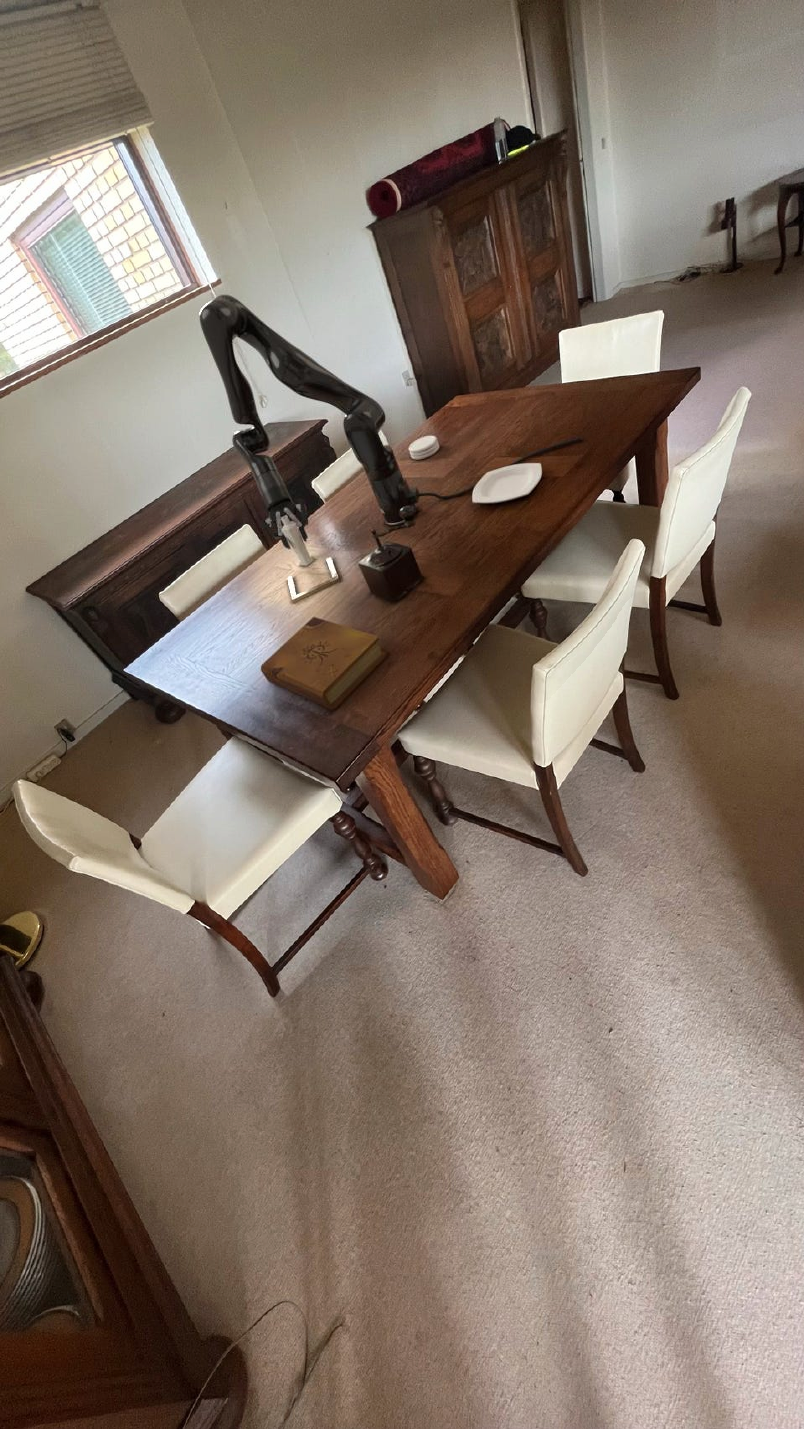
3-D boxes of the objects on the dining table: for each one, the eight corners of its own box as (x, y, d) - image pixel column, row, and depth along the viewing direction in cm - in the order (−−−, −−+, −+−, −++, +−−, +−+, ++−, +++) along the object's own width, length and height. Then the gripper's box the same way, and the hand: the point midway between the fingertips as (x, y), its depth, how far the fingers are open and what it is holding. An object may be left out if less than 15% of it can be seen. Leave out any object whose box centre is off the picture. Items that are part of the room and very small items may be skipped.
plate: (466, 512, 172) (464, 506, 171) (484, 476, 183) (482, 470, 182) (534, 502, 163) (533, 496, 161) (549, 465, 174) (548, 458, 173)
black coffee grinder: (396, 603, 153) (369, 541, 141) (370, 593, 160) (341, 533, 149) (440, 567, 157) (416, 503, 146) (412, 559, 165) (388, 497, 153)
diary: (270, 685, 148) (258, 667, 144) (323, 634, 155) (313, 616, 151) (331, 712, 133) (320, 693, 129) (387, 655, 140) (377, 635, 136)
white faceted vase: (312, 564, 183) (289, 519, 173) (299, 567, 185) (275, 523, 175) (316, 556, 186) (293, 511, 176) (303, 558, 188) (280, 514, 178)
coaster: (444, 443, 210) (441, 433, 208) (431, 459, 205) (427, 449, 203) (420, 446, 216) (417, 436, 213) (406, 461, 211) (402, 451, 209)
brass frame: (288, 580, 181) (286, 578, 181) (332, 560, 181) (330, 557, 180) (293, 602, 171) (291, 600, 171) (340, 581, 171) (338, 578, 170)
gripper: (247, 497, 177) (271, 551, 176) (292, 475, 176) (317, 529, 175) (255, 507, 184) (278, 558, 183) (299, 486, 184) (322, 538, 183)
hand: (297, 544), depth 179 cm, fingers closed on white faceted vase, 4 cm apart
